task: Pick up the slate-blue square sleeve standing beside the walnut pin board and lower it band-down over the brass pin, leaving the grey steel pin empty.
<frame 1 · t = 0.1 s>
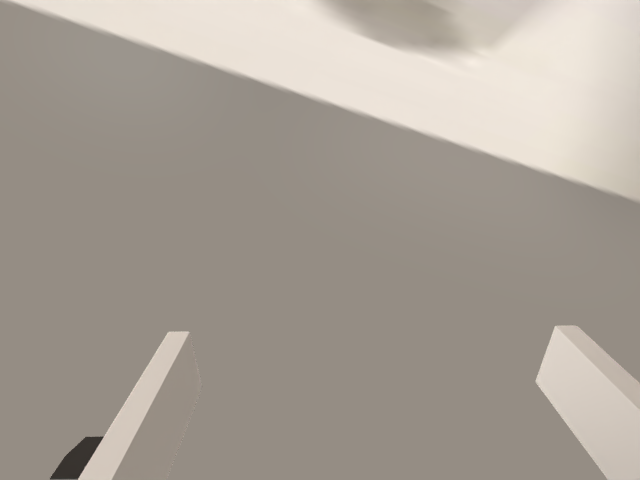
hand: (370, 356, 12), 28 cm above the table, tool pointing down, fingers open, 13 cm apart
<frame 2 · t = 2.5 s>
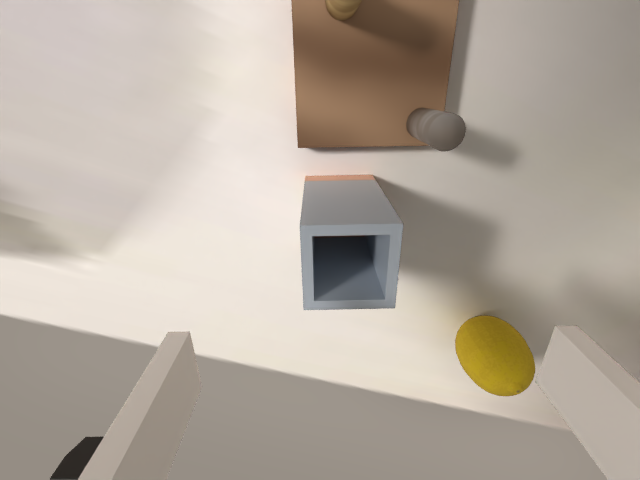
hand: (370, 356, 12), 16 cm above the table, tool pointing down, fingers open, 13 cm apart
pin board: (369, 50, 22), on the table
sleeve: (338, 207, 27), on the table
lemon: (471, 320, 32), on the table
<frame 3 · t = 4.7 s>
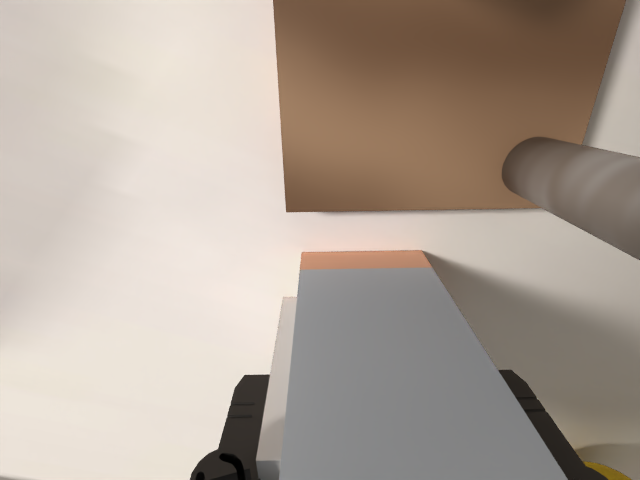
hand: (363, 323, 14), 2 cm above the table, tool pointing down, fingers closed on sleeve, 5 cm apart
pin board: (432, 21, 11), on the table
sleeve: (359, 301, 15), on the table, touching gripper
lemon: (560, 455, 21), on the table
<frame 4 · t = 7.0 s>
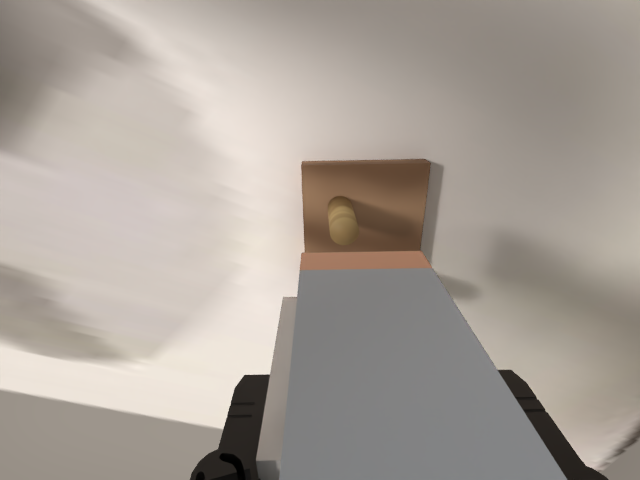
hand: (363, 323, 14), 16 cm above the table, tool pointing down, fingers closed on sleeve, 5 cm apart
pin board: (360, 228, 29), on the table
sleeve: (359, 301, 15), point 14 cm above the table, touching gripper
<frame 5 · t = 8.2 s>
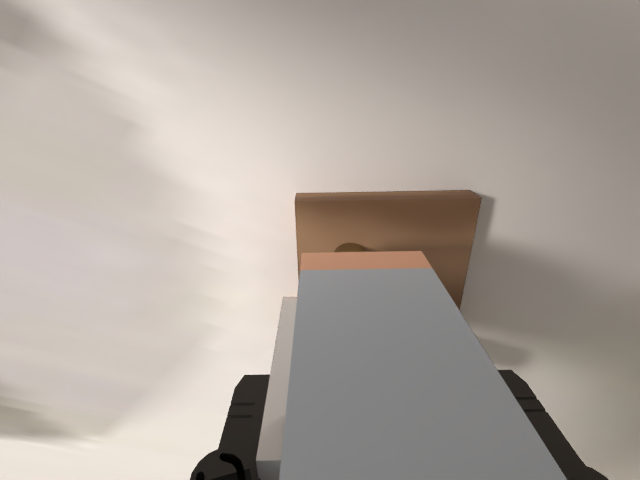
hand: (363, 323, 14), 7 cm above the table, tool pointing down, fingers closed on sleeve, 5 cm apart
pin board: (377, 280, 22), on the table
sleeve: (359, 301, 15), point 6 cm above the table, touching gripper
when the fingers open (4 cm above the table, at t = 9.4 s): sleeve drops 1 cm, resting on pin board.
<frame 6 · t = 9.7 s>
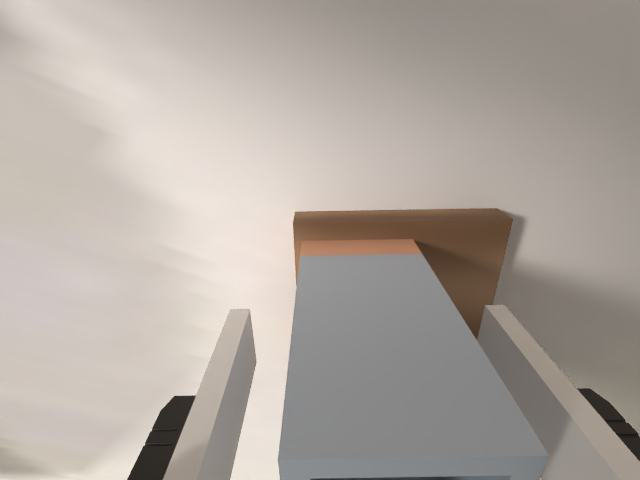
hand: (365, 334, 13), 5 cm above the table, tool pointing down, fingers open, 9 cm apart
pin board: (387, 309, 19), on the table
sleeve: (355, 287, 16), point 1 cm above the table, touching pin board
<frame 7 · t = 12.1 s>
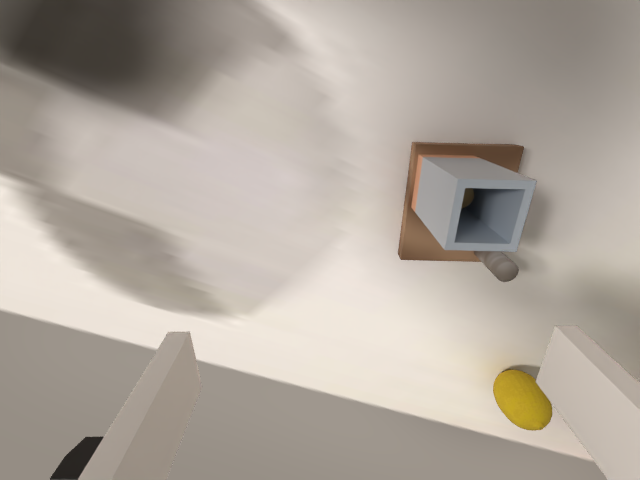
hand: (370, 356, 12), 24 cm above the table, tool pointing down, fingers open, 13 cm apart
pin board: (452, 202, 34), on the table
sleeve: (441, 182, 32), point 1 cm above the table, touching pin board
lemon: (503, 371, 44), on the table
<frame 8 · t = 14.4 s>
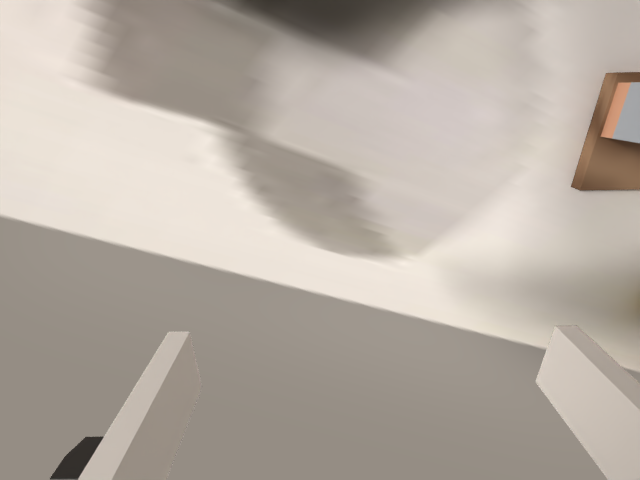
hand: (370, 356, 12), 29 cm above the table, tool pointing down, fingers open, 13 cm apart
pin board: (632, 133, 37), on the table
sleeve: (634, 110, 34), point 1 cm above the table, touching pin board
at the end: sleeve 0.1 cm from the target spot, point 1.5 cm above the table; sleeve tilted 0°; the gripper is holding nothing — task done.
